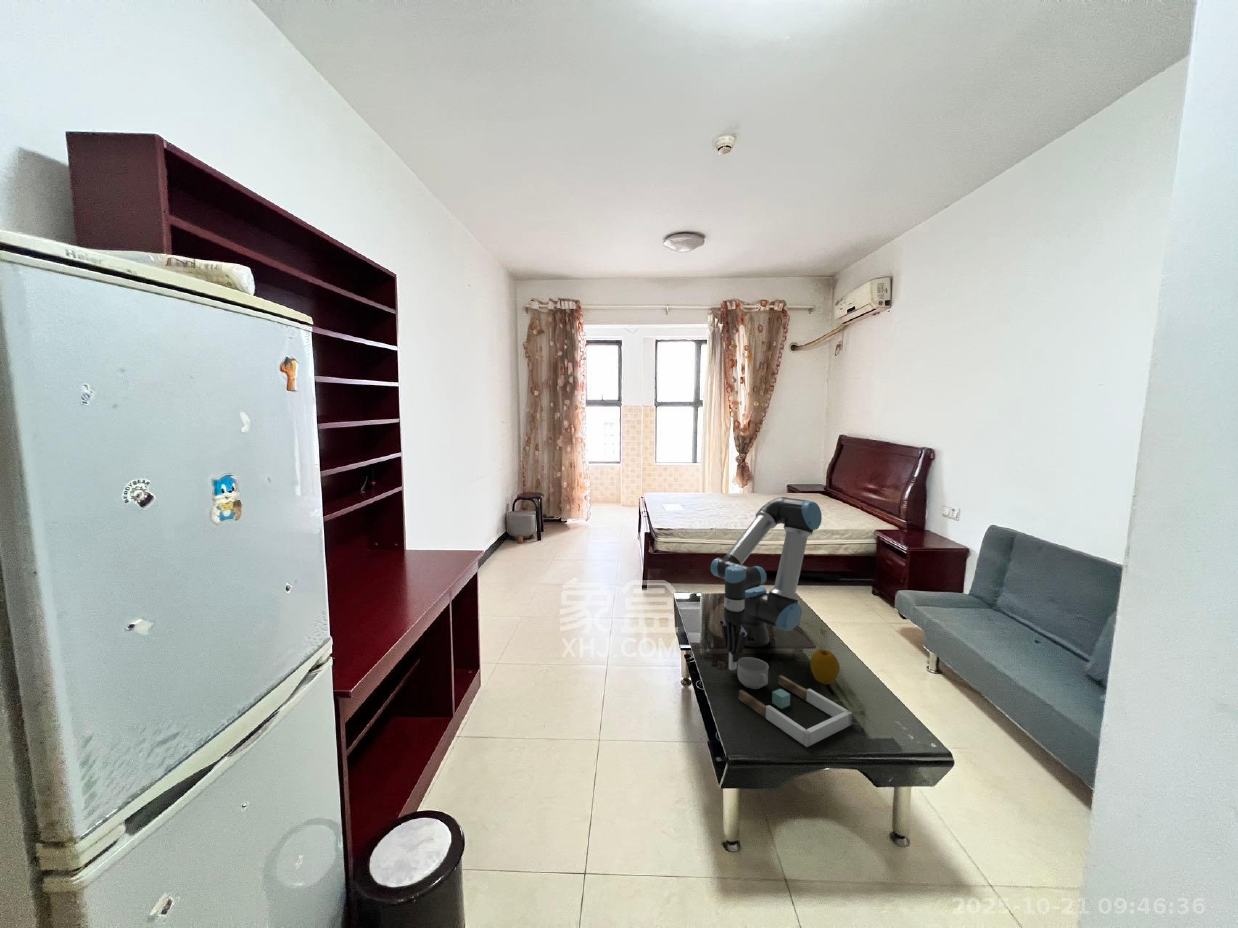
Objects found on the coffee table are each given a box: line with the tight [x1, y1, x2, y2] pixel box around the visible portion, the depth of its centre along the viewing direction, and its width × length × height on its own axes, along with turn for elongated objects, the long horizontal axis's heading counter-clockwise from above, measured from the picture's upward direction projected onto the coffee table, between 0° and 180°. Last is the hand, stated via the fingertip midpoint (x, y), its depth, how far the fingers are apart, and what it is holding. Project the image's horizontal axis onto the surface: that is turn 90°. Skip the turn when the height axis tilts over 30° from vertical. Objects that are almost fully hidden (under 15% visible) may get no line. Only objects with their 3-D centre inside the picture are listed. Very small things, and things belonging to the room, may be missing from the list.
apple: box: [810, 648, 841, 685], centre depth 170 cm, size 10×10×12 cm
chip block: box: [771, 688, 791, 710], centre depth 156 cm, size 4×4×4 cm
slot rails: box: [738, 674, 807, 719], centre depth 158 cm, size 12×21×3 cm, turn 120°
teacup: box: [737, 656, 770, 690], centre depth 166 cm, size 14×11×8 cm
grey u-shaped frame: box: [765, 688, 853, 748], centre depth 147 cm, size 16×21×4 cm
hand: (732, 668), depth 176 cm, fingers closed
